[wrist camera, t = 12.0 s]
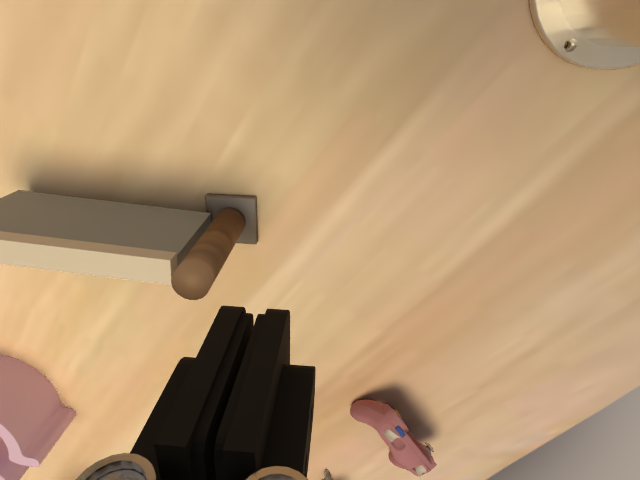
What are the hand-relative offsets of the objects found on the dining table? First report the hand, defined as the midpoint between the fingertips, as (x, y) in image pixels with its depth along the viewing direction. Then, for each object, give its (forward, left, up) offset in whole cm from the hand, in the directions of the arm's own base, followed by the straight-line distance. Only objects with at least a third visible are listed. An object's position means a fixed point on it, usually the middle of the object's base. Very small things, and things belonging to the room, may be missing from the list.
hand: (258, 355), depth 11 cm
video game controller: (-9, +32, -27) cm, 43 cm away
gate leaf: (+18, +7, -26) cm, 33 cm away
